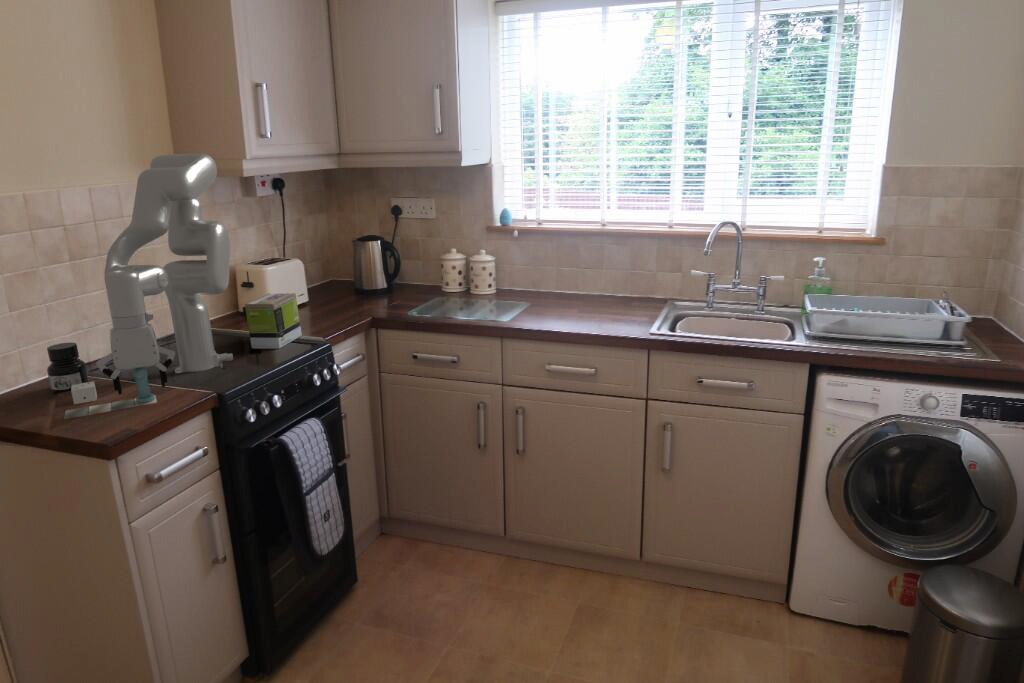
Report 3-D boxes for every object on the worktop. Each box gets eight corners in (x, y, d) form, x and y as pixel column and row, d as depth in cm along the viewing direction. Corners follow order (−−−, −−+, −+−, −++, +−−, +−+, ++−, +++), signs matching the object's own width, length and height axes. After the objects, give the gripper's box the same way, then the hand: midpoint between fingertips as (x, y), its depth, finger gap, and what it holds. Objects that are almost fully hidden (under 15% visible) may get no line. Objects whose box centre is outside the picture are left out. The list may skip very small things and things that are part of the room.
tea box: (274, 335, 242) (269, 292, 237) (302, 336, 239) (297, 292, 235) (250, 348, 227) (243, 302, 223) (279, 349, 225) (273, 303, 221)
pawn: (154, 396, 183) (147, 364, 181) (154, 401, 180) (148, 368, 177) (136, 399, 181) (130, 366, 179) (136, 404, 178) (130, 371, 176)
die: (97, 399, 187) (93, 380, 186) (98, 405, 183) (94, 386, 181) (75, 403, 185) (71, 384, 183) (74, 409, 180) (70, 390, 179)
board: (156, 399, 185) (155, 394, 185) (158, 407, 179) (157, 402, 179) (66, 415, 176) (65, 410, 176) (64, 424, 170) (63, 419, 170)
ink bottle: (43, 394, 192) (33, 351, 189) (62, 383, 201) (53, 342, 197) (79, 393, 192) (70, 350, 189) (97, 382, 201) (89, 340, 197)
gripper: (168, 314, 182) (179, 379, 186) (89, 324, 174) (102, 391, 179) (170, 319, 176) (181, 387, 180) (88, 330, 168) (102, 400, 172)
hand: (142, 389), depth 179 cm, fingers open, 9 cm apart
